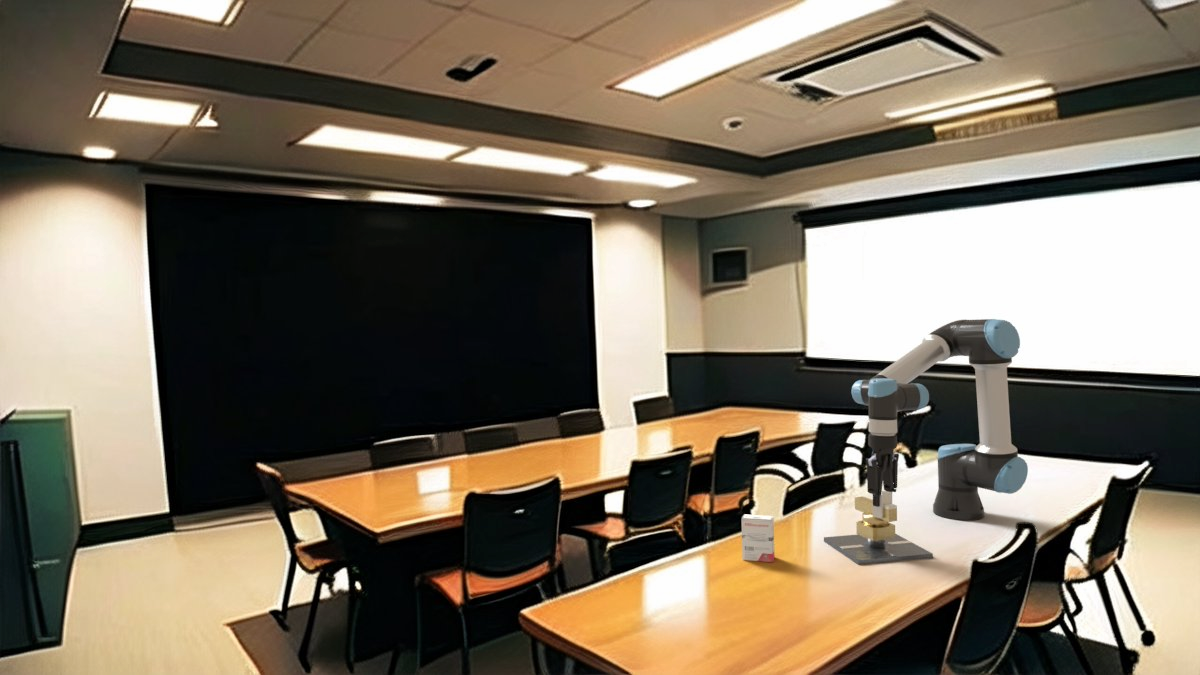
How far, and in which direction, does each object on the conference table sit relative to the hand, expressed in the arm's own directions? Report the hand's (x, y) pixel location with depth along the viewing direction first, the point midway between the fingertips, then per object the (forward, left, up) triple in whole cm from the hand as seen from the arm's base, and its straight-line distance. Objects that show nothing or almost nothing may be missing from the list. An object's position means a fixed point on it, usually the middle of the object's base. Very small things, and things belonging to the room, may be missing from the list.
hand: (882, 515), depth 196 cm
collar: (+1, -3, -7) cm, 7 cm away
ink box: (+36, -4, -11) cm, 37 cm away
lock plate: (+1, -3, -11) cm, 11 cm away
